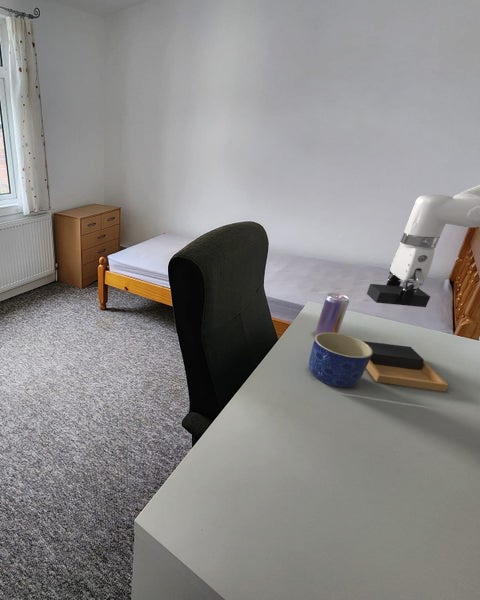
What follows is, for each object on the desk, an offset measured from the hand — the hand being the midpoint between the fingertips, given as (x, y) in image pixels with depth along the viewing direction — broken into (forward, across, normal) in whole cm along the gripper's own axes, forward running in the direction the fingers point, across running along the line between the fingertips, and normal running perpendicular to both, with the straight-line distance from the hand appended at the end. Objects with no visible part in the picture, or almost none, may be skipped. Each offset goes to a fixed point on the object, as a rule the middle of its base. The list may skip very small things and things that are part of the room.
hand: (396, 297), depth 103 cm
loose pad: (+1, 0, 0) cm, 1 cm away
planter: (+16, -26, +20) cm, 36 cm away
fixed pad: (+15, -12, +2) cm, 20 cm away
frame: (+16, -16, +2) cm, 23 cm away
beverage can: (+16, -3, +16) cm, 22 cm away
